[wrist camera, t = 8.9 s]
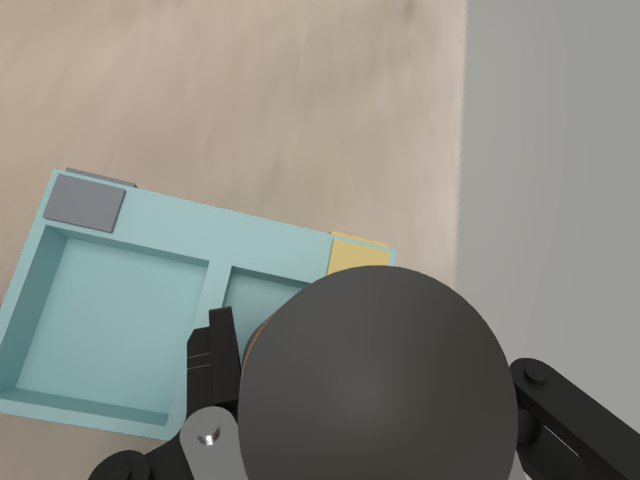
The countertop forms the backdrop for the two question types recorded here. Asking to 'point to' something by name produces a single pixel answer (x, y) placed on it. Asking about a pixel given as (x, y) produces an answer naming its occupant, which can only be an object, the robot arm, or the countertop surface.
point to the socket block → (142, 298)
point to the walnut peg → (376, 384)
